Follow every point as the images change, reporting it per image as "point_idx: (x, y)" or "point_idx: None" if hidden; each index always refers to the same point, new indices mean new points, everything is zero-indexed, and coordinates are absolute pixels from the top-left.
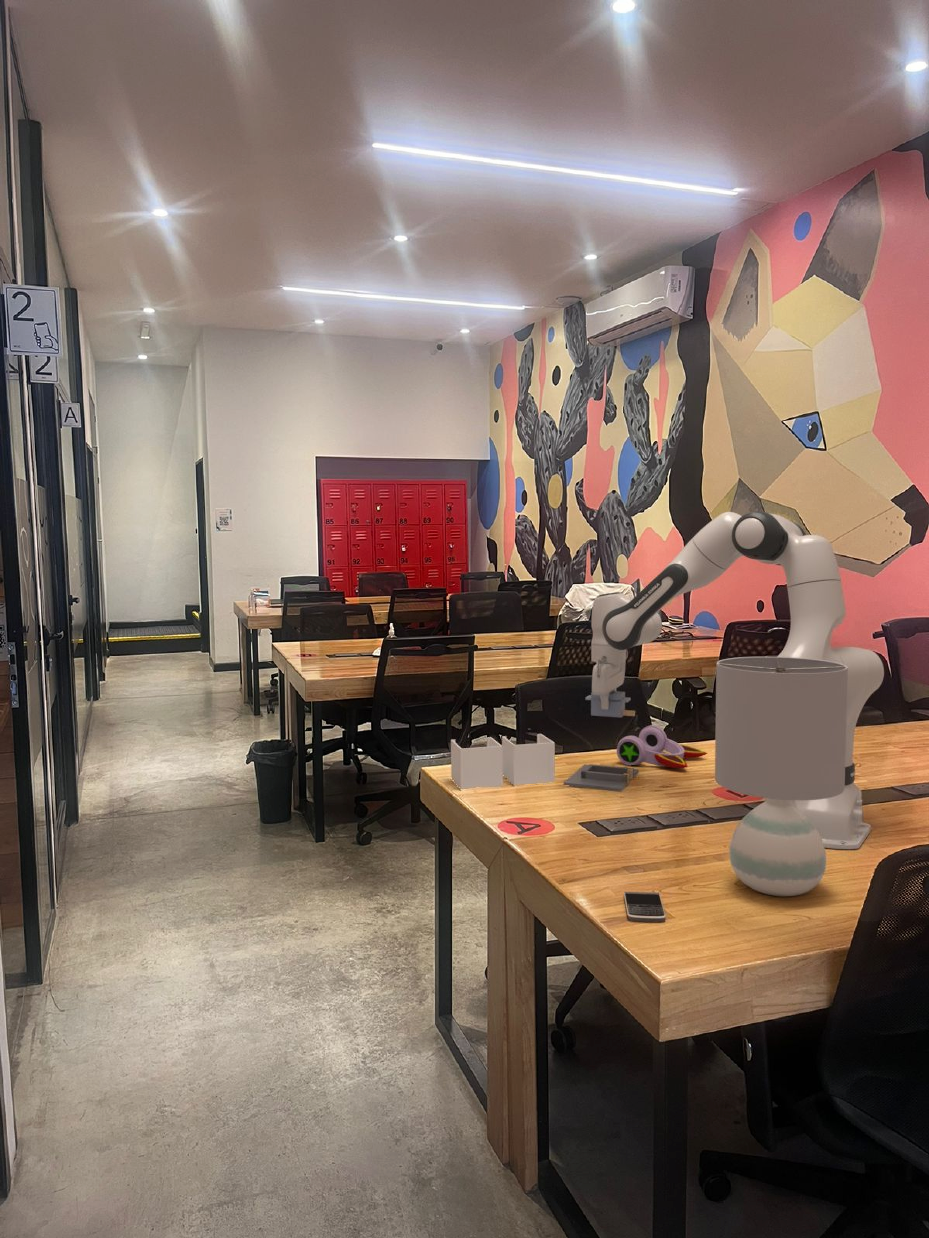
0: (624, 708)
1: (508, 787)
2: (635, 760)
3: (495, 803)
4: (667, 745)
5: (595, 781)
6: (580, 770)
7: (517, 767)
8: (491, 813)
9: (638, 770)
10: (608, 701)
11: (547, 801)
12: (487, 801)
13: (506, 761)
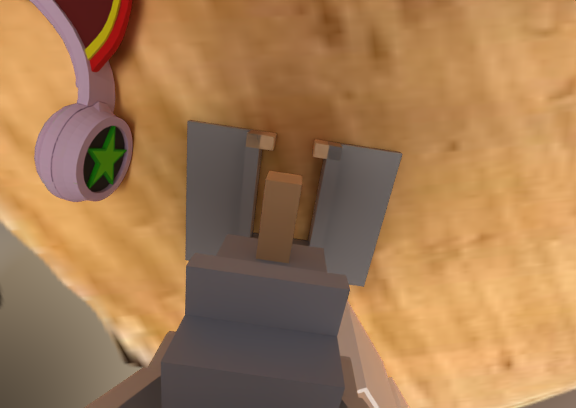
0: (227, 257)
1: (389, 368)
2: (121, 135)
3: (502, 373)
4: None
5: (342, 221)
6: None
7: (391, 394)
8: (568, 371)
9: (189, 120)
10: (357, 405)
11: (490, 297)
12: (488, 385)
13: None
